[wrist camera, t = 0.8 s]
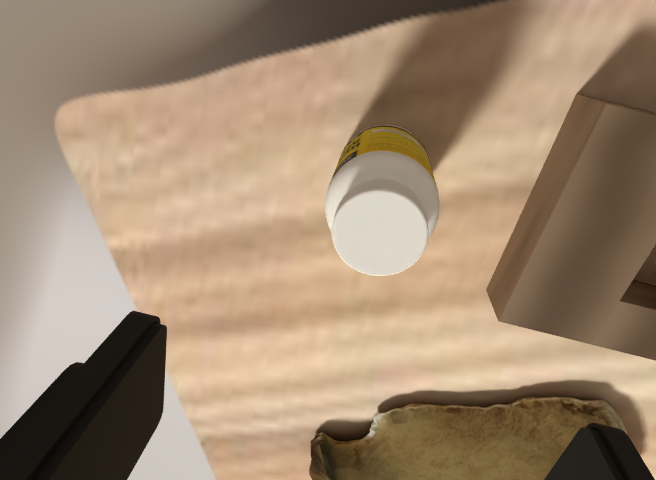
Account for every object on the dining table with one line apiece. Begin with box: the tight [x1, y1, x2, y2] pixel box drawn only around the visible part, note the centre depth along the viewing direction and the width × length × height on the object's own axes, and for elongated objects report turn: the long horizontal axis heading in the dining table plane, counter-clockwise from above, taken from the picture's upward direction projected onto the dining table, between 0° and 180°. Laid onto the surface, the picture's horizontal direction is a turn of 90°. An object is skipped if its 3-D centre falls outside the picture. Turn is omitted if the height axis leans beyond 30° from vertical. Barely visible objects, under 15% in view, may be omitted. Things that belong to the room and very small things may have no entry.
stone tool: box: [309, 397, 628, 480], centre depth 34 cm, size 12×4×25 cm
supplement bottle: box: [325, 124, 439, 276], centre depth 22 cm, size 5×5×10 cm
